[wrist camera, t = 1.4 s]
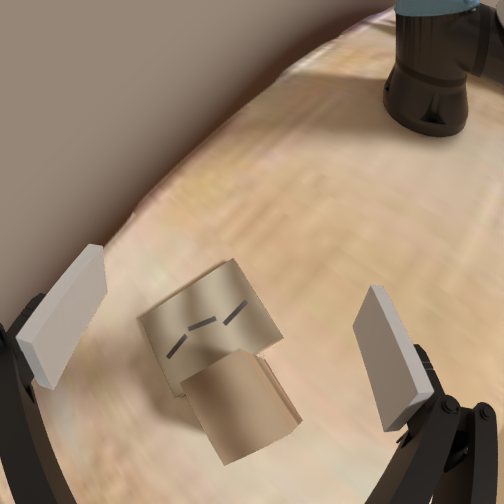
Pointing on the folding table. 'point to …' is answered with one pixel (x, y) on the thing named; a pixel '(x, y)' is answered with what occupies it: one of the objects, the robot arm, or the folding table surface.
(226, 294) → the board
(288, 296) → the folding table surface
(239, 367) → the block
